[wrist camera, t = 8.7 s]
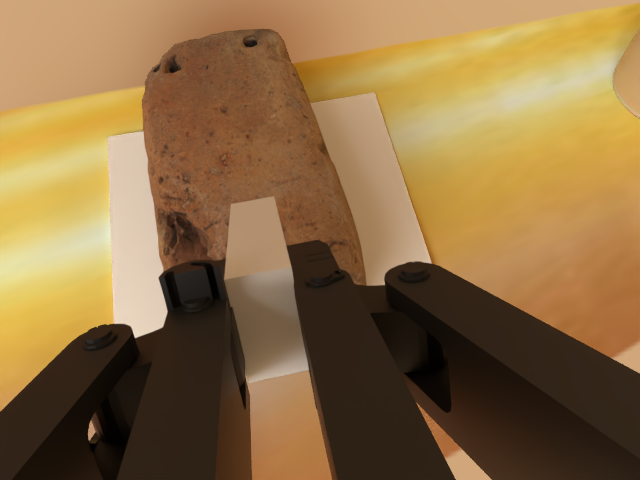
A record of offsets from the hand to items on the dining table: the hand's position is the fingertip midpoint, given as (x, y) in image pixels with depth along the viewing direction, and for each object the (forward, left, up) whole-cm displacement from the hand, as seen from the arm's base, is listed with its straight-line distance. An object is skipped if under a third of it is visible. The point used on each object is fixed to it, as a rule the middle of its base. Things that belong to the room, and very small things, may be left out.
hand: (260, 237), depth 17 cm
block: (0, -1, -10) cm, 10 cm away
